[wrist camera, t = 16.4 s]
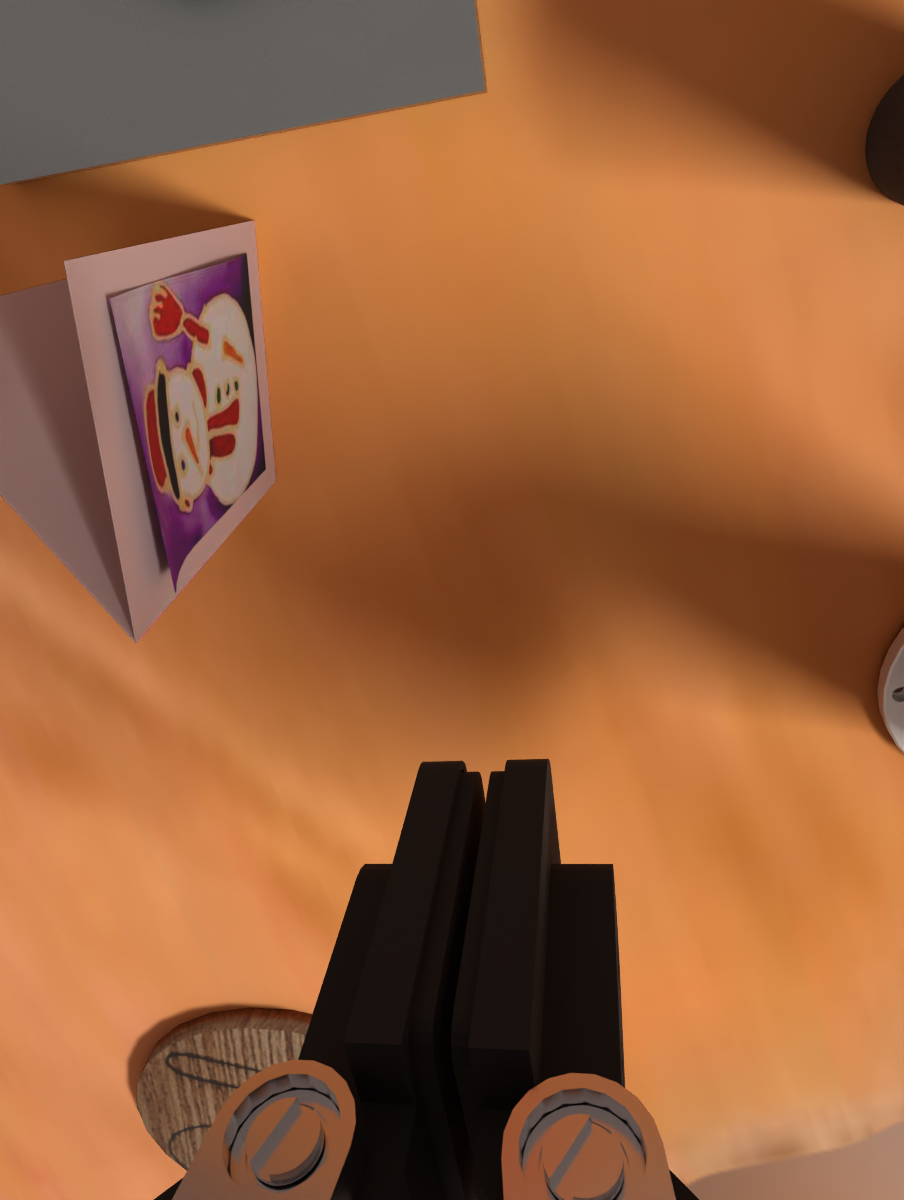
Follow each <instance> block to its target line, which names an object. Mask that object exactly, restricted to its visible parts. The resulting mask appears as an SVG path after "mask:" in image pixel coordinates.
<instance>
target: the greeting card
mask: <svg viewBox="0 0 904 1200" xmlns="http://www.w3.org/2000/svg"><path fill="white" fill-rule="evenodd" d="M64 264H65V270H66V275H67V279H64V280H60V281H56V282H52V283H48V284H44V285H40V286H36V287H32V288H28V289H24V290H20V291H16V292H12V293H8V294H4V295H0V495H1V496H2V497H3V498H4V500H5V501H6V502H7V503H8V504H9V505H10V506H11V507H12V508H13V509H14V510H15V512H16V513H17V514H18V515H19V516H20V517H21V518H22V519H23V520H24V521H25V523H26V524H27V525H28V526H29V527H30V528H31V529H32V530H33V531H34V532H35V533H36V535H37V536H38V537H39V538H40V539H41V540H42V541H43V542H44V543H45V544H46V545H47V547H48V548H49V549H50V550H51V551H52V552H53V553H54V554H55V555H56V556H57V558H58V559H59V560H60V561H61V562H62V563H63V564H64V565H65V566H66V567H67V568H68V570H69V571H70V572H71V573H72V574H73V575H74V576H75V577H76V578H77V579H78V580H79V582H80V583H81V584H82V585H83V586H84V587H85V588H86V589H87V590H88V591H89V592H90V594H91V595H92V596H93V597H94V598H95V599H96V600H97V601H98V602H99V603H100V605H101V606H102V607H103V608H104V609H105V610H106V611H107V612H108V613H109V614H110V615H111V617H112V618H113V619H114V620H115V621H116V622H117V623H118V624H119V625H120V626H121V627H122V629H123V630H124V631H125V632H126V633H127V634H128V635H129V636H130V637H131V638H132V640H133V641H134V642H135V643H137V642H138V641H139V640H140V638H141V637H142V636H143V635H144V634H145V633H146V631H147V630H148V629H149V628H150V627H151V626H152V624H153V623H154V622H155V621H156V620H157V619H158V617H159V616H160V615H161V614H162V613H163V612H164V611H165V609H166V608H167V607H168V606H169V605H170V604H171V602H172V601H173V600H174V599H175V598H176V597H177V595H178V594H179V593H180V592H181V591H182V590H183V589H184V587H185V586H186V585H187V584H188V583H189V582H190V580H191V579H192V578H193V577H194V576H195V575H196V573H197V572H198V571H199V570H200V569H201V568H202V566H203V565H204V564H205V563H206V562H207V561H208V560H209V558H210V557H211V556H212V555H213V554H214V553H215V551H216V550H217V549H218V548H219V547H220V546H221V544H222V543H223V542H224V541H225V540H226V539H227V538H228V536H229V535H230V534H231V533H232V532H233V531H234V529H235V528H236V527H237V526H238V525H239V524H240V522H241V521H242V520H243V519H244V518H245V517H246V516H247V514H248V513H249V512H250V511H251V510H252V509H253V507H254V506H255V505H256V504H257V503H258V502H259V500H260V499H261V498H262V497H263V496H264V495H265V493H266V492H267V491H268V490H269V489H270V488H271V487H272V485H273V484H274V483H275V482H276V474H275V462H274V450H273V438H272V426H271V414H270V402H269V390H268V378H267V366H266V354H265V342H264V330H263V318H262V306H261V294H260V282H259V270H258V258H257V246H256V234H255V222H254V220H252V221H248V222H243V223H238V224H234V225H229V226H224V227H220V228H215V229H210V230H206V231H201V232H196V233H192V234H187V235H182V236H178V237H173V238H168V239H163V240H159V241H154V242H149V243H145V244H140V245H135V246H131V247H126V248H121V249H117V250H112V251H107V252H103V253H98V254H93V255H89V256H84V257H79V258H75V259H70V260H65V261H64Z"/></svg>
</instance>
